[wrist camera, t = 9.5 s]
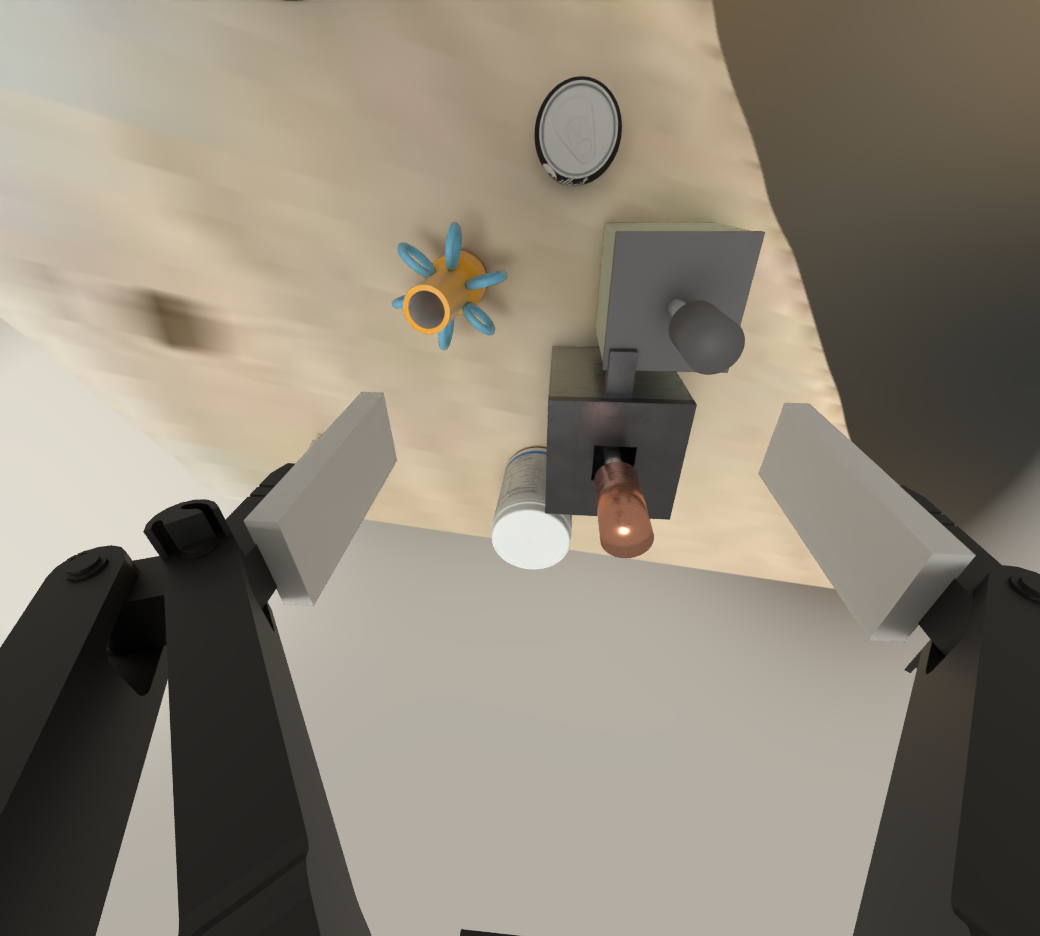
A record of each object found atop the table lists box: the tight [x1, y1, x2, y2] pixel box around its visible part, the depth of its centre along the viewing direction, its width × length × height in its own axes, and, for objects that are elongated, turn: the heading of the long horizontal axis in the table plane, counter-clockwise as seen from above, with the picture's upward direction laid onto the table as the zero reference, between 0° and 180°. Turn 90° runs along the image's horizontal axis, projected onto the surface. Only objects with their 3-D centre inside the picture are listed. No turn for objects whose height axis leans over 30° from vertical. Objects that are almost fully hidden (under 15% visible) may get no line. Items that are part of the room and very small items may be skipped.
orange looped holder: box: [392, 222, 507, 350], centre depth 43 cm, size 12×10×15 cm
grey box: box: [545, 346, 697, 520], centre depth 47 cm, size 17×13×16 cm
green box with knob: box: [596, 223, 765, 375], centre depth 37 cm, size 11×11×24 cm
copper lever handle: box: [594, 446, 654, 558], centre depth 41 cm, size 4×4×19 cm
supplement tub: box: [492, 448, 572, 569], centre depth 56 cm, size 10×10×15 cm
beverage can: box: [535, 76, 622, 186], centre depth 36 cm, size 7×7×12 cm
